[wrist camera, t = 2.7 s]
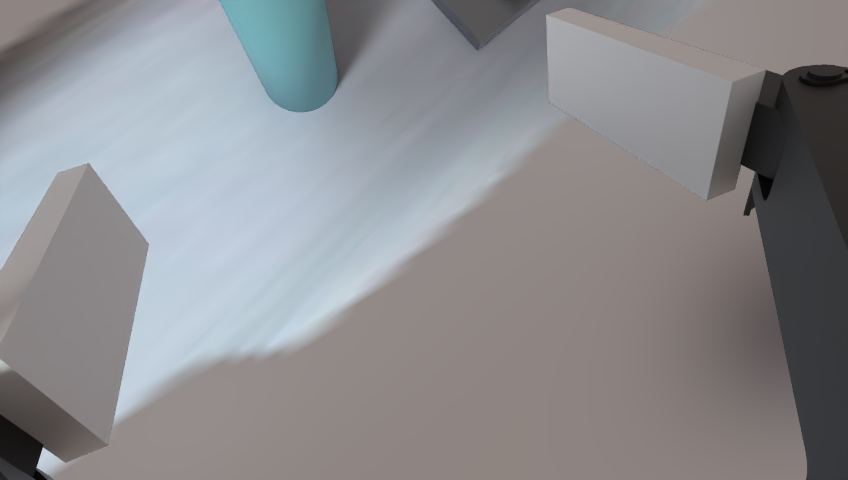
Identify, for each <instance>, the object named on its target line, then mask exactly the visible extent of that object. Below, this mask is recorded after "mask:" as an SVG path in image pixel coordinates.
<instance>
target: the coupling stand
mask: <svg viewBox="0 0 848 480" xmlns="http://www.w3.org/2000/svg"><path fill="white" fill-rule="evenodd" d="M432 1H433V2H434V4H435V5H436V6H437V7H438V8H439V9H440V10H441V11H442V12H443V13H444V14H445V15H446V17H447V18H448V19H449V20H450V21H451V22H452V23H453V24H454V25H455V26H456V27H457V28H458V30H459V31H460V32H461V33H462V34H463V35H464V36H465V37H466V38H467V39H468V40H469V42H470V43H471V44H472V45H473V46H474V47H475V48H476V49H477V50H479V49H480V48H482V47H483V46H484V45H485V44H486V43H488V42H489V41H490V40H491V39H493V38H494V37H495V36H496V35H497V34H499V33H500V32H501V31H502V30H504V29H505V28H506V27H507V26H509V25H510V24H511V23H512V22H513V21H515V20H516V19H517V18H518V17H520V16H521V15H522V14H523V13H525V12H526V11H527V10H528V9H529V8H531V7H532V6H533V5H534V4H536V3H537V2H538V1H539V0H432Z"/></svg>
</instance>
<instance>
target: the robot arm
mask: <svg viewBox="0 0 848 480" xmlns="http://www.w3.org/2000/svg"><path fill="white" fill-rule="evenodd" d="M546 28H547V60H548V92H549V103H551V104H552V105H554V106H555V107H557V108H559V109H560V110H562V111H563V112H565V113H567V114H568V115H570V116H571V117H573V118H575V119H576V120H578V121H579V122H581V123H583V124H584V125H586V126H587V127H589V128H591V129H592V130H594V131H595V132H597V133H599V134H600V135H602V136H603V137H605V138H607V139H609V140H610V141H612V142H613V143H615V144H616V145H618V146H620V147H621V148H623V149H624V150H626V151H628V152H629V153H631V154H632V155H634V156H636V157H637V158H639V159H640V160H642V161H644V162H645V163H647V164H648V165H650V166H652V167H653V168H655V169H656V170H658V171H660V172H661V173H663V174H664V175H666V176H668V177H669V178H671V179H672V180H674V181H676V182H678V183H679V184H680V185H682V186H684V187H685V188H687V189H688V190H690V191H692V192H693V193H695V194H697V195H698V196H700V197H701V198H703V199H704V200H709V199H712V198H714V197H717V196H719V195H722V194H724V193H726V192H729V191H731V190H734V189H735V186H736V183H737V179H738V175H739V171H740V167H741V165H743V166H745V167H747V168H749V169H751V170H753V171H755V175H754V178H753V182H752V186H751V189H750V193H749V196H748V199H747V203H746V206H745V210H744V215H747V216H749V214H750V211H751V209H753V208H754V207H755V208H756V213H757V217H758V223H759V228H760V232H761V237H762V242H763V247H764V251H765V257H766V261H767V266H768V271H769V276H770V281H771V286H772V291H773V296H774V300H775V305H776V310H777V315H778V320H779V325H780V330H781V334H782V339H783V344H784V349H785V354H786V358H787V363H788V368H789V373H790V377H791V383H792V388H793V393H794V398H795V402H796V407H797V412H798V417H799V422H800V426H801V432H802V436H803V441H804V446H805V451H806V458H807V478H806V480H848V68H846V67H839V66H835V65H812V66H802V67H798V68H795V69H792V70H789V71H788V72H786V73H785V74H784V75H780V74H776V73H773V72H770V71H767V70H766V69H763V68H760V67H756V66H753V65H750V64H747V63H744V62H741V61H738V60H734V59H731V58H728V57H725V56H721V55H719V54H715V53H712V52H709V51H706V50H703V49H700V48H696V47H693V46H690V45H687V44H684V43H681V42H678V41H674V40H671V39H668V38H665V37H662V36H659V35H655V34H652V33H649V32H646V31H643V30H640V29H636V28H633V27H630V26H627V25H624V24H621V23H617V22H614V21H611V20H608V19H605V18H602V17H598V16H595V15H592V14H589V13H586V12H583V11H579V10H576V9H573V8H570V7H568V8H565V9H562V10H559V11H556V12H553V13H550V14H547V15H546ZM148 246H149V244H148V242H147V241H146V240H145V238H144V237H143V236H142V234H141V233H140V231H139V230H138V229H137V227H136V226H135V225H134V223H133V222H132V221H131V219H130V218H129V217H128V215H127V214H126V213H125V211H124V210H123V209H122V207H121V206H120V205H119V203H118V202H117V200H116V199H115V198H114V196H113V195H112V194H111V192H110V191H109V190H108V188H107V187H106V186H105V184H104V183H103V182H102V180H101V179H100V178H99V176H98V175H97V174H96V172H95V171H94V169H93V168H92V167H91V165H90V164H89V163H87V164H84V165H81V166H78V167H75V168H72V169H69V170H66V171H63V172H60V173H57V175H56V177H55V179H54V180H53V182H52V184H51V185H50V187H49V189H48V191H47V192H46V194H45V196H44V197H43V199H42V201H41V203H40V204H39V206H38V208H37V209H36V211H35V213H34V215H33V216H32V218H31V220H30V222H29V223H28V225H27V227H26V228H25V230H24V232H23V234H22V235H21V237H20V239H19V240H18V242H17V244H16V246H15V247H14V249H13V251H12V252H11V254H10V256H9V258H8V259H7V261H6V263H5V264H4V266H3V268H2V270H1V271H0V480H53V479H52V478H51V477H50V476H49V475H47V474H45V473H44V472H42V471H41V470H39V469H38V468H36V467H37V464H38V461H39V458H40V454H41V451H42V448H43V447H44V448H45V449H47V450H48V451H50V452H51V453H52V454H54V455H55V456H57V457H58V458H60V459H61V460H62V461H64V462H65V463H66V462H69V461H71V460H73V459H76V458H78V457H81V456H83V455H86V454H88V453H91V452H93V451H95V450H98V449H100V448H103V447H105V446H107V445H109V440H110V435H111V430H112V425H113V420H114V415H115V410H116V405H117V400H118V395H119V390H120V385H121V380H122V375H123V370H124V365H125V360H126V355H127V350H128V345H129V340H130V336H131V331H132V326H133V321H134V316H135V311H136V306H137V301H138V296H139V291H140V286H141V281H142V276H143V271H144V266H145V261H146V256H147V251H148Z"/></svg>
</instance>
